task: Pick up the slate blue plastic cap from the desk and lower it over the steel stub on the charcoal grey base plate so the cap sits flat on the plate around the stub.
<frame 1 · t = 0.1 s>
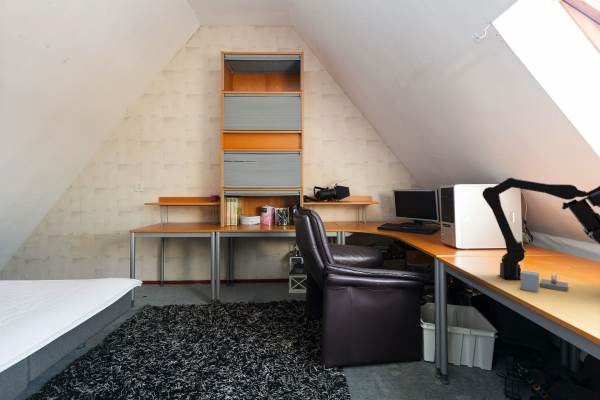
housing cap: (529, 289, 118), on the table
base plate: (553, 286, 121), on the table
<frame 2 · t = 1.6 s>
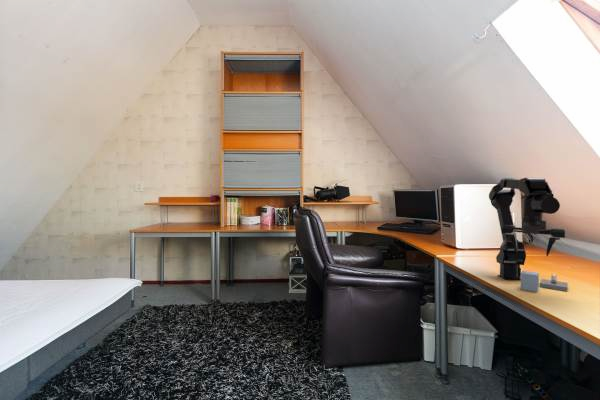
hand: (531, 254, 117), 13 cm above the table, tool pointing down, fingers open, 9 cm apart
nothing on the table moved.
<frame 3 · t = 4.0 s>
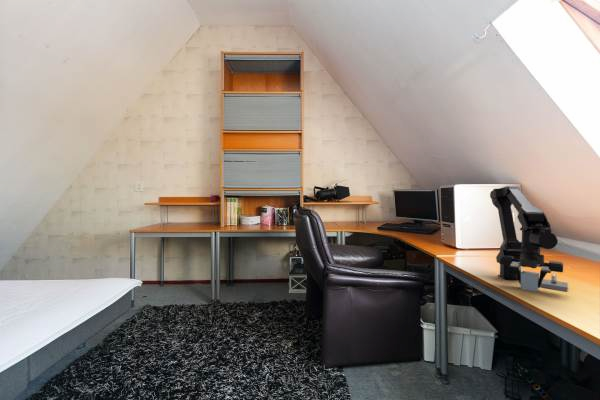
hand: (529, 286, 118), 1 cm above the table, tool pointing down, fingers closed on housing cap, 5 cm apart
housing cap: (529, 289, 118), on the table, touching gripper
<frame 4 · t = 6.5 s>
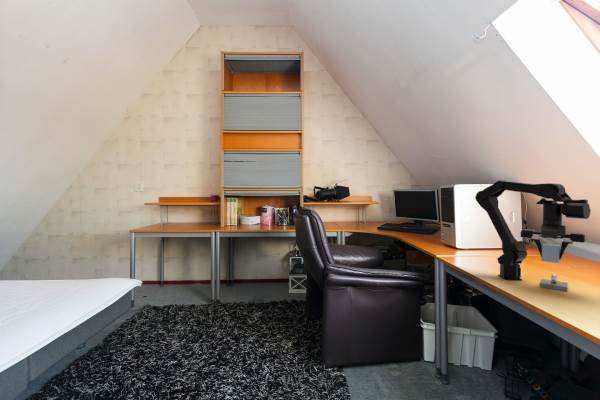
hand: (550, 258, 120), 11 cm above the table, tool pointing down, fingers closed on housing cap, 5 cm apart
housing cap: (550, 261, 120), point 10 cm above the table, touching gripper
when the fingers open (3 cm above the table, at t = 9.0 s): housing cap stays where it is, resting on base plate.
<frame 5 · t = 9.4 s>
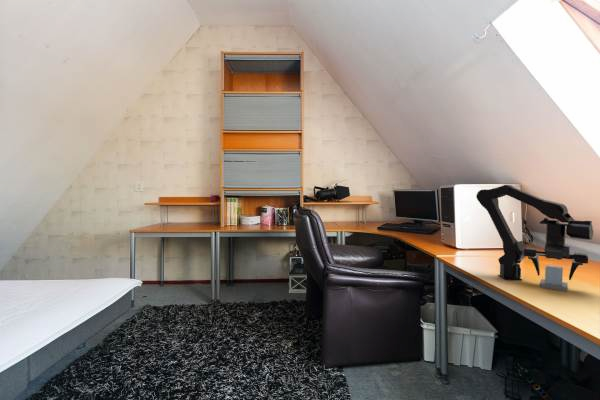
hand: (553, 277, 121), 4 cm above the table, tool pointing down, fingers open, 9 cm apart
housing cap: (553, 282, 121), point 1 cm above the table, touching base plate
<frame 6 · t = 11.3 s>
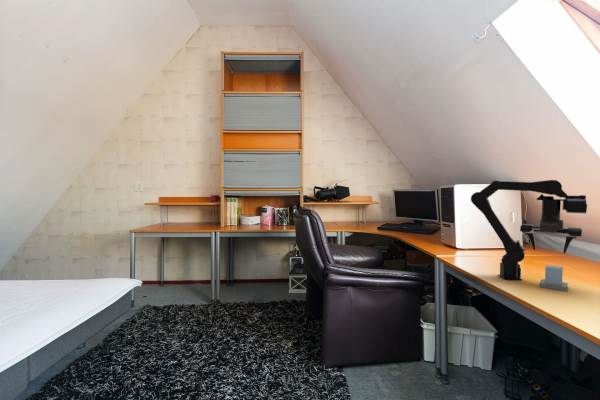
hand: (549, 251, 125), 12 cm above the table, tool pointing down, fingers open, 9 cm apart
nothing on the table moved.
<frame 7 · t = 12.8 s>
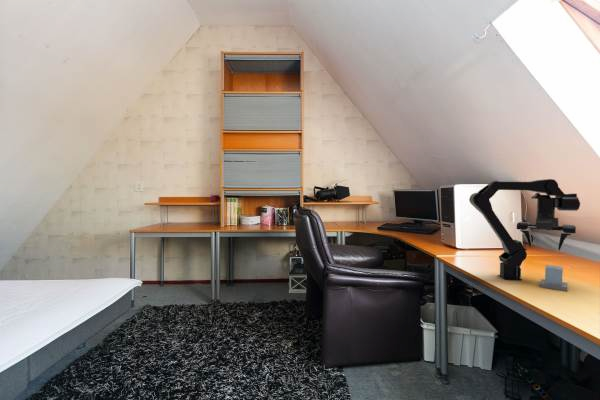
hand: (544, 248, 129), 13 cm above the table, tool pointing down, fingers open, 9 cm apart
nothing on the table moved.
at the end: housing cap 0.1 cm off-centre on the base plate, point 1.5 cm above the base plate's base; housing cap tilted 0°; the gripper is holding nothing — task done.
